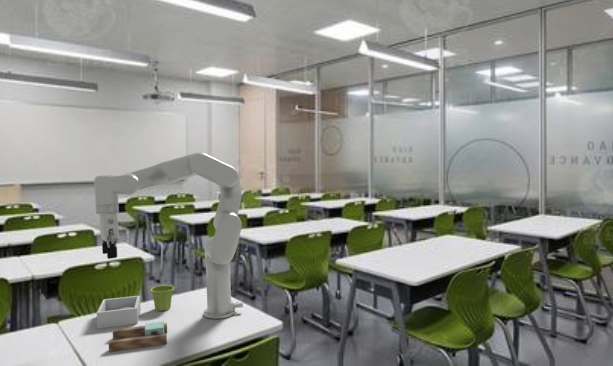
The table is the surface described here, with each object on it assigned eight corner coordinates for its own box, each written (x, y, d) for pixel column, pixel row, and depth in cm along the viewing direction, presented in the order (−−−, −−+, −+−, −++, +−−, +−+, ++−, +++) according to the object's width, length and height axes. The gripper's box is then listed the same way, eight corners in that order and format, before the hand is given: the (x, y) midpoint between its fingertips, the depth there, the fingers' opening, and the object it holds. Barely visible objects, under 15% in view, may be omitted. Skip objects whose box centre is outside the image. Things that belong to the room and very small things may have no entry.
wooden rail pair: (167, 330, 155) (166, 320, 155) (166, 344, 144) (166, 332, 144) (113, 337, 150) (113, 326, 149) (109, 352, 139) (108, 340, 138)
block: (164, 334, 152) (163, 321, 152) (163, 341, 146) (163, 327, 146) (146, 337, 150) (145, 323, 150) (145, 344, 145) (144, 329, 144)
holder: (140, 309, 178) (140, 295, 177) (137, 323, 162) (136, 308, 162) (104, 313, 174) (103, 299, 173) (97, 328, 158) (96, 312, 158)
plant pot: (164, 303, 185) (163, 284, 184) (179, 307, 180) (178, 287, 180) (146, 310, 177) (145, 289, 176) (161, 314, 172) (161, 293, 172)
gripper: (123, 210, 149) (125, 258, 150) (113, 206, 163) (116, 250, 164) (100, 212, 145) (102, 261, 146) (92, 208, 159) (94, 253, 160)
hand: (109, 255), depth 155 cm, fingers open, 9 cm apart
